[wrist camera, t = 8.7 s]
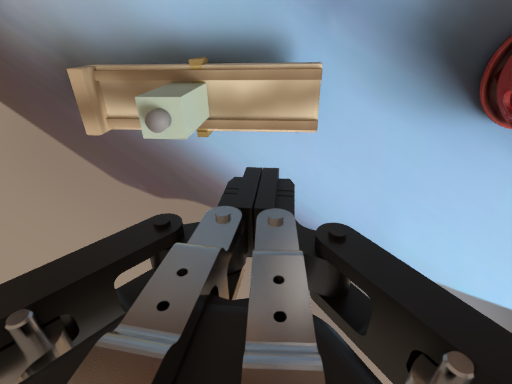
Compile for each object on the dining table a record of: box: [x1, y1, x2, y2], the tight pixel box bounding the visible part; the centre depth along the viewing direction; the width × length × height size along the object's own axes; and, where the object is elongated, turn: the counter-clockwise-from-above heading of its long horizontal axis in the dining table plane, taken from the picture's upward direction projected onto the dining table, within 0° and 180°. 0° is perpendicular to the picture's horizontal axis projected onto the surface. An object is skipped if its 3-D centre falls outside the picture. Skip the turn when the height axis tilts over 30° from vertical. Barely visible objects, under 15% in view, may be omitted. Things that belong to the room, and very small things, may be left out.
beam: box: [67, 57, 322, 137], centre depth 33 cm, size 8×26×8 cm, turn 91°
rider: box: [135, 83, 209, 139], centre depth 28 cm, size 4×4×9 cm
